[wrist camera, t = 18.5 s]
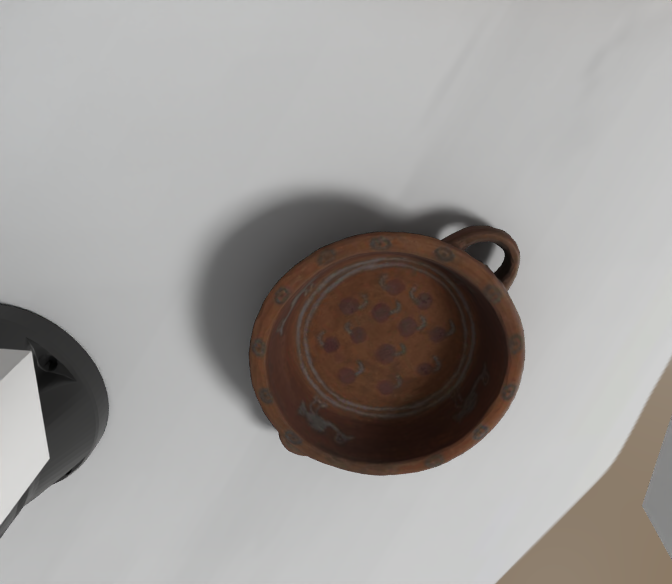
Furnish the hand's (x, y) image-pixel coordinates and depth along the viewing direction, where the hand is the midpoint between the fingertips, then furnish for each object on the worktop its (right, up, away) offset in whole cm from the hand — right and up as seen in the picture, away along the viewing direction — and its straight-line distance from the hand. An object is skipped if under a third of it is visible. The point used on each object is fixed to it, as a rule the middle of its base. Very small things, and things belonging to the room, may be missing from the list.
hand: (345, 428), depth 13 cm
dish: (+3, 0, +31) cm, 31 cm away
